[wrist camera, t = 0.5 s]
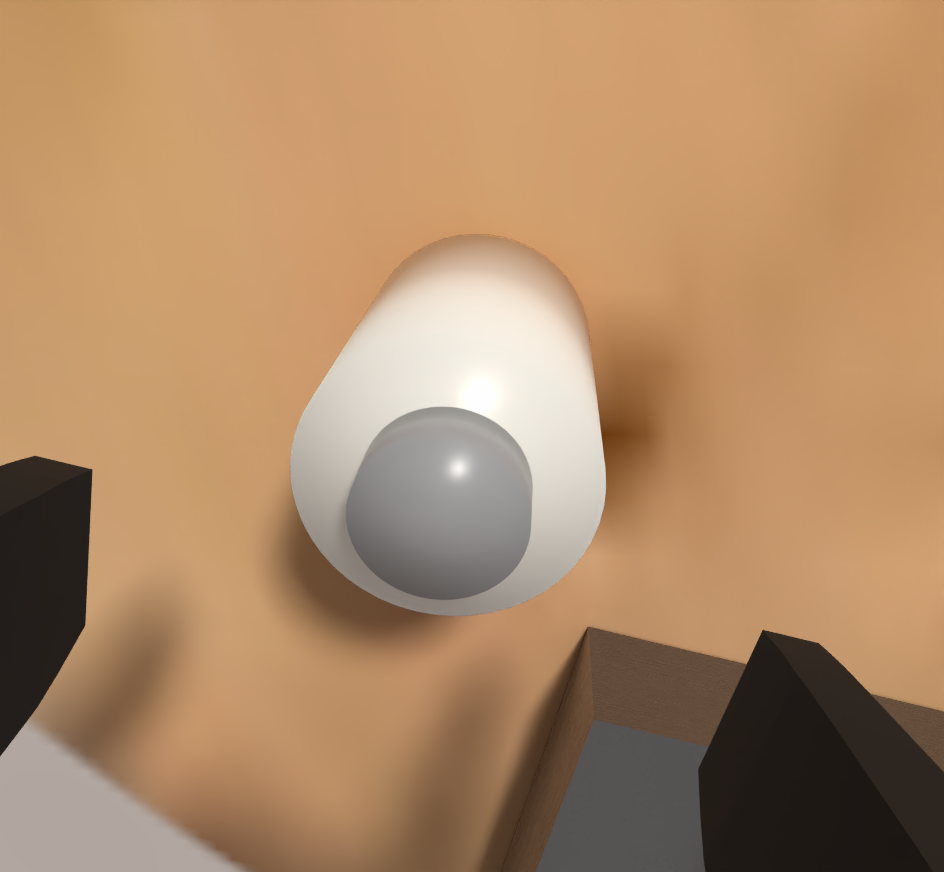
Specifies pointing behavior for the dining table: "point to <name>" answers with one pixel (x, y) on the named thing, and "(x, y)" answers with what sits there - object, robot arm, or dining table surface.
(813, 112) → the dining table surface
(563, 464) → the white capped cylinder
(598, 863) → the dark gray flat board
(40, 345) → the dining table surface
